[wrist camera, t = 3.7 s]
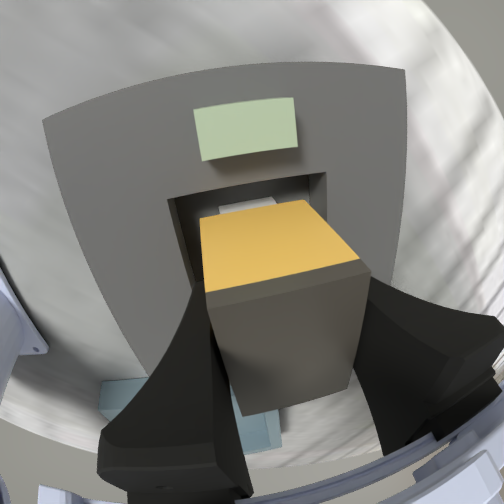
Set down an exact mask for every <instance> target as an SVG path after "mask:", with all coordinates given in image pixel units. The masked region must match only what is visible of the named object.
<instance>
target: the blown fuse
mask: <svg viewBox="0 0 504 504" xmlns="http://www.w3.org/2000/svg"><path fill="white" fill-rule="evenodd" d="M218 207H219V212H220V215H215V216H210V217H205V218H200V233H201V247H202V260H203V272H204V283H205V294H206V304H207V311H208V314H209V317H210V321H211V324H212V327H213V331H214V334H215V337H216V340H217V344H218V347H219V350H220V353H221V356H222V359H223V362H224V365H225V368H226V371H227V374H228V377H229V380H230V383H231V386H232V389H233V392H234V395H235V398H236V401H237V403H238V406H239V409H240V412H241V414H242V417H245V416H250V415H255V414H260V413H264V412H269V411H273V410H277V409H281V408H285V407H289V406H293V405H296V404H300V403H304V402H307V401H311V400H314V399H317V398H321V397H324V396H327V395H330V394H333V393H336V392H339V391H342V390H345V389H347V387H348V384H349V380H350V376H351V372H352V368H353V364H354V360H355V356H356V352H357V347H358V343H359V338H360V333H361V329H362V324H363V318H364V313H365V308H366V302H367V296H368V290H369V284H370V277H371V270H370V269H369V268H368V267H367V266H366V264H365V263H364V262H363V261H362V260H361V259H360V258H359V257H358V256H357V254H356V253H355V252H354V251H353V250H352V249H351V248H350V247H349V246H348V245H347V244H346V243H345V241H344V240H343V239H342V238H341V237H340V236H339V235H338V234H337V233H336V232H335V231H334V230H333V229H332V228H331V227H330V226H329V225H328V224H327V223H326V222H325V221H324V219H323V218H322V217H321V216H320V215H319V214H318V213H317V212H316V211H315V210H314V209H313V208H312V207H311V206H310V205H309V204H308V203H307V202H306V201H305V200H304V199H303V200H297V201H291V202H285V203H280V204H277V203H276V201H275V200H274V199H273V197H266V198H260V199H255V200H249V201H243V202H238V203H233V204H227V205H222V206H218Z"/></svg>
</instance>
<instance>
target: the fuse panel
mask: <svg viewBox="0 0 504 504" xmlns="http://www.w3.org/2000/svg"><path fill="white" fill-rule="evenodd" d="M42 122H43V127H44V131H45V136H46V140H47V145H48V149H49V153H50V157H51V160H52V164H53V168H54V171H55V175H56V178H57V182H58V185H59V188H60V191H61V195H62V198H63V201H64V204H65V207H66V209H67V212H68V215H69V218H70V221H71V223H72V226H73V229H74V231H75V234H76V237H77V239H78V242H79V244H80V246H81V249H82V251H83V254H84V256H85V258H86V261H87V263H88V265H89V268H90V270H91V272H92V274H93V276H94V279H95V281H96V283H97V285H98V287H99V289H100V291H101V293H102V295H103V297H104V299H105V301H106V303H107V305H108V307H109V309H110V311H111V313H112V315H113V317H114V318H115V320H116V322H117V324H118V326H119V328H120V329H121V331H122V333H123V335H124V337H125V338H126V340H127V342H128V343H129V345H130V347H131V348H132V350H133V352H134V353H135V355H136V357H137V358H138V360H139V362H140V363H141V365H142V366H143V368H144V370H145V371H146V373H147V374H148V376H149V377H150V375H151V374H152V373H153V371H154V370H155V368H156V367H157V365H158V364H159V362H160V360H161V359H162V357H163V355H164V354H165V352H166V350H167V348H168V347H169V345H170V343H171V341H172V339H173V337H174V335H175V333H176V330H177V328H178V326H179V324H180V322H181V319H182V317H183V315H184V312H185V310H186V307H187V304H188V302H189V299H190V296H191V292H192V289H193V285H194V284H195V283H196V281H195V277H194V274H193V270H192V266H191V263H190V259H189V255H188V252H187V248H186V244H185V240H184V236H183V233H182V229H181V225H180V221H179V217H178V213H177V208H176V204H175V200H174V198H175V197H179V196H184V195H189V194H194V193H198V192H203V191H208V190H214V189H219V188H224V187H229V186H235V185H241V184H246V183H252V182H258V181H264V180H271V179H277V178H284V177H290V176H297V175H305V174H308V175H309V197H310V206H311V207H312V208H313V209H314V210H315V211H316V212H317V213H318V214H319V215H320V216H321V217H322V218H323V219H324V221H325V222H326V223H327V224H328V225H329V226H330V227H331V228H332V229H333V230H334V231H335V232H336V233H337V234H338V235H339V236H340V237H341V238H342V239H343V240H344V241H345V243H346V244H347V245H348V246H349V247H350V248H351V249H352V250H353V251H354V252H355V253H356V254H357V256H358V257H359V258H360V259H361V260H362V261H363V262H364V263H365V264H366V266H367V267H368V268H369V269H370V270H371V276H372V277H374V278H376V279H377V280H379V281H381V282H383V283H385V284H387V285H389V286H390V285H391V280H392V275H393V269H394V264H395V258H396V252H397V246H398V239H399V233H400V225H401V217H402V208H403V199H404V187H405V174H406V154H407V97H406V79H405V70H404V69H397V68H391V67H383V66H375V65H365V64H353V63H336V62H278V63H261V64H249V65H239V66H230V67H222V68H215V69H208V70H202V71H196V72H191V73H185V74H180V75H175V76H171V77H166V78H162V79H158V80H153V81H149V82H146V83H142V84H138V85H134V86H131V87H128V88H124V89H121V90H118V91H114V92H111V93H108V94H105V95H102V96H99V97H96V98H94V99H91V100H88V101H85V102H83V103H80V104H78V105H75V106H73V107H70V108H68V109H65V110H63V111H61V112H58V113H56V114H54V115H51V116H49V117H47V118H45V119H43V120H42ZM230 385H231V383H230Z"/></svg>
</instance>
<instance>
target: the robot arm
mask: <svg viewBox="0 0 504 504" xmlns="http://www.w3.org/2000/svg"><path fill="white" fill-rule="evenodd" d="M503 348H504V326H503V325H502V324H501V323H500V322H499V320H498V319H497V318H496V317H495V316H489V315H481V314H474V313H468V312H463V311H459V310H454V309H450V308H446V307H443V306H439V305H436V304H433V303H430V302H427V301H424V300H421V299H419V298H416V297H414V296H411V295H409V294H406V293H404V292H402V291H399V290H397V289H395V288H393V287H391V286H389V285H387V284H385V283H383V282H381V281H379V280H377V279H376V278H374V277H372V276H371V277H370V284H369V290H368V296H367V302H366V308H365V313H364V318H363V324H362V329H361V333H360V338H359V343H358V347H357V352H356V356H355V360H354V364H353V368H354V370H355V373H356V375H357V377H358V380H359V382H360V384H361V387H362V389H363V392H364V395H365V397H366V400H367V403H368V405H369V408H370V411H371V414H372V417H373V420H374V423H375V426H376V430H377V433H378V437H379V441H380V444H381V448H382V452H383V456H384V457H382V458H380V459H378V460H376V461H373V462H371V463H369V464H366V465H364V466H362V467H359V468H357V469H354V470H351V471H349V472H346V473H343V474H340V475H338V476H335V477H332V478H329V479H326V480H323V481H319V482H316V483H313V484H310V485H306V486H302V487H299V488H295V489H291V490H287V491H283V492H278V493H274V494H269V495H264V496H259V497H253V498H250V497H251V496H252V494H253V493H254V491H253V487H252V484H251V480H250V477H249V473H248V469H247V465H246V461H245V457H244V453H243V449H242V445H241V440H240V436H239V432H238V427H237V423H236V418H235V413H234V409H233V404H232V398H231V391H230V380H229V377H228V374H227V371H226V368H225V365H224V362H223V359H222V356H221V353H220V350H219V347H218V344H217V340H216V337H215V334H214V331H213V327H212V324H211V321H210V317H209V314H208V311H207V304H206V294H205V283H204V281H200V282H196V283H195V284H194V285H193V289H192V292H191V296H190V299H189V302H188V304H187V307H186V310H185V312H184V315H183V317H182V319H181V322H180V324H179V326H178V328H177V330H176V333H175V335H174V337H173V339H172V341H171V343H170V345H169V347H168V348H167V350H166V352H165V354H164V355H163V357H162V359H161V360H160V362H159V364H158V365H157V367H156V368H155V370H154V371H153V373H152V374H151V375H150V377H149V378H148V380H147V381H146V382H145V384H144V385H143V386H142V388H141V389H140V390H139V391H138V393H137V394H136V395H135V396H134V397H133V399H132V400H131V401H130V402H129V403H128V404H127V406H126V407H125V408H124V409H123V410H122V411H121V412H120V413H119V414H118V415H117V416H116V417H115V418H114V419H113V420H112V421H111V422H110V423H109V424H108V425H107V426H106V427H104V428H103V429H102V430H101V435H100V440H99V446H98V459H97V460H98V461H97V474H98V475H99V476H100V477H101V478H102V479H103V480H104V481H106V482H108V483H110V484H112V485H114V486H116V487H118V488H120V489H122V490H124V491H127V497H128V504H319V503H322V502H325V501H328V500H331V499H334V498H337V497H340V496H343V495H345V494H348V493H351V492H354V491H356V490H359V489H361V488H364V487H366V486H368V485H371V484H373V483H375V482H378V481H380V480H382V479H384V478H386V477H388V476H390V475H393V474H395V473H396V472H399V471H400V470H402V469H404V468H406V467H408V466H410V465H412V464H414V463H415V462H417V461H419V460H421V459H423V458H424V457H426V456H428V455H429V454H431V453H433V452H434V451H436V450H438V449H439V448H441V447H442V446H444V445H445V444H447V443H448V442H450V443H449V446H448V447H447V448H445V449H444V450H442V451H441V452H439V453H438V454H437V455H435V456H434V457H433V458H432V459H431V460H429V461H428V462H427V463H426V464H424V465H423V466H421V467H420V468H418V469H417V470H415V471H414V472H413V476H414V478H415V481H416V484H414V485H412V486H411V487H409V488H407V489H405V490H403V491H401V492H400V493H397V494H395V495H393V496H391V497H389V498H387V499H385V500H383V501H381V502H379V503H376V504H504V503H503V500H502V498H501V496H500V494H499V490H500V489H501V487H502V484H503V481H504V479H503V477H502V475H501V473H500V471H499V470H500V469H501V468H502V467H503V466H504V380H503V381H502V382H500V383H499V384H497V382H496V381H495V380H494V378H493V376H494V375H495V370H494V369H493V368H492V365H493V363H494V362H495V360H496V359H497V357H498V356H499V354H500V353H501V351H502V350H503ZM48 350H49V347H48V345H47V343H46V342H45V341H44V339H43V338H42V336H41V335H40V333H39V332H38V331H37V329H36V328H35V326H34V325H33V323H32V322H31V320H30V319H29V317H28V315H27V314H26V312H25V311H24V309H23V307H22V306H21V304H20V302H19V301H18V299H17V297H16V296H15V294H14V292H13V290H12V289H11V287H10V285H9V283H8V281H7V279H6V278H5V276H4V274H3V272H2V270H1V268H0V404H1V401H2V398H3V395H4V392H5V389H6V386H7V383H8V380H9V378H10V375H11V372H12V370H13V367H14V365H15V362H16V360H17V357H18V355H33V354H46V353H47V352H48ZM0 504H11V501H10V497H9V493H8V490H7V487H6V485H5V482H4V480H3V479H2V477H1V475H0ZM38 504H125V503H116V502H107V501H100V500H93V499H87V498H82V497H81V496H79V495H77V494H75V493H72V492H69V491H66V490H62V489H58V488H54V487H50V486H46V485H42V484H40V485H39V494H38Z"/></svg>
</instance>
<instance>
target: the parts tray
mask: <svg viewBox="0 0 504 504" xmlns="http://www.w3.org/2000/svg"><path fill="white" fill-rule="evenodd" d="M148 378H149V377H147V378H138V379H128V380H116V381H102V385H101V391H100V398H99V405H98V411H99V412H100V413H101V414H102V415H103V416H104V417H105V418H107V419H108V420H109V421H110V422H111V421H112V420H113V419H114V418H115V417H116V416H117V415H118V414H119V413H120V412H121V411H122V410H123V409H124V408H125V407H126V406H127V404H128V403H129V402H130V401H131V400H132V399H133V397H134V396H135V395H136V394H137V393H138V391H139V390H140V389H141V388H142V386H143V385H144V384H145V382H146V381H147V380H148ZM230 391H231V398H232V404H233V409H234V413H235V418H236V423H237V427H238V432H239V436H240V440H241V445H242V449H243V453H244V455H247V454H252V453H257V452H262V451H267V450H271V449H276V448H280V447H282V440H281V431H280V421H279V412H278V409H277V410H273V411H269V412H264V413H260V414H255V415H250V416H245V417H242V414H241V412H240V409H239V406H238V403H237V401H236V398H235V395H234V392H233V389H232V386H231V385H230Z"/></svg>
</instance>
